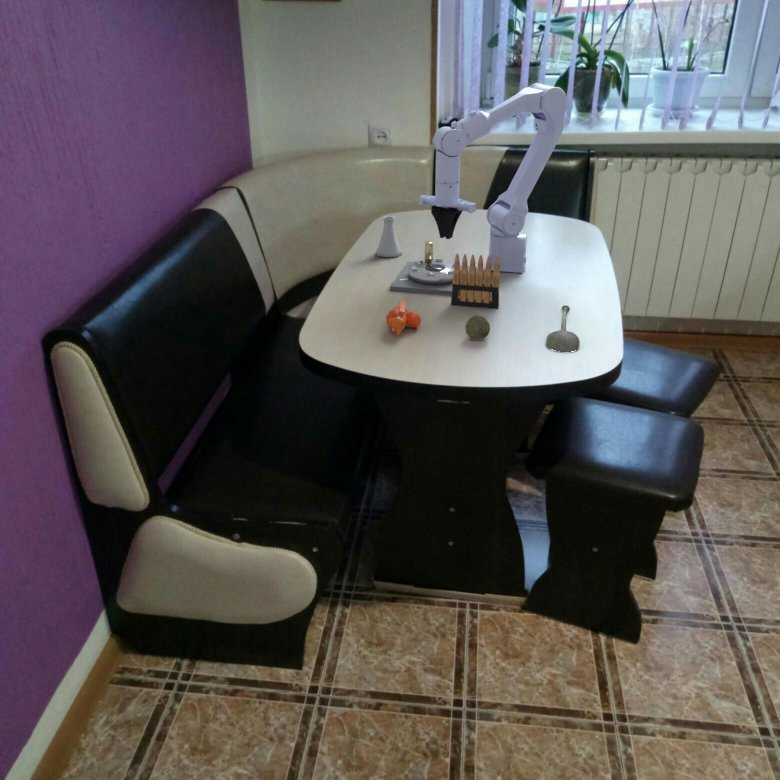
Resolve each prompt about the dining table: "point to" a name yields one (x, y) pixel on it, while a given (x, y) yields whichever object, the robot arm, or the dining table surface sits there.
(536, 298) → the dining table surface
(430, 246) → the crank wheel with handle
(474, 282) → the ammunition clip
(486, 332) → the lime
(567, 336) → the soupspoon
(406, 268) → the cap plate
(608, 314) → the dining table surface
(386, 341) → the dining table surface
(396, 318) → the orange toy bird
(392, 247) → the flask
